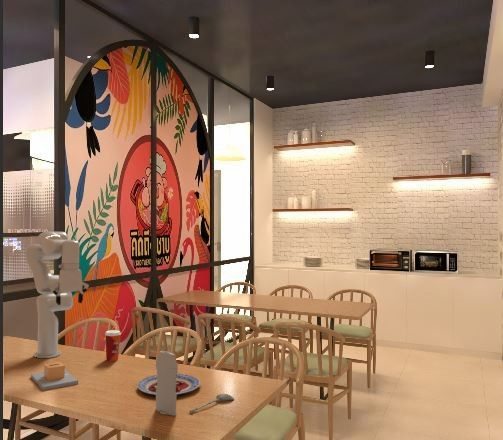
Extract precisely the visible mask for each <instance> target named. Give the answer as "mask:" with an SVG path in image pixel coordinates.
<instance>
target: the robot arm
mask: <svg viewBox="0 0 503 440" xmlns="http://www.w3.org/2000/svg"><path fill="white" fill-rule="evenodd" d="M60 258H61V263H60V264H58V268H59V273H58V274H52V273H51V269H50V267H49V266H48V265H47V264H46V263H45V262H44V261H45V260H57V259H60ZM25 260H26V262H27V265H28V267H29V269H30V271H31V272H32V276H33V280H34V285H35V289H36V290H37V293H39V294H40V295H39V296H37V298H36V308H37V310H36V311H37V347H36V352H34V354H33V356H34V357H35V358H36V357H37V359H49V358H51V359H52V358H55V357H58V356H61V354H62V352H61V350H59V349H58V347H59V346H58V344H59V319H58V317H57V316H56V314H55V313H54V312H59V311H60V312H61V311H68V310H71V309H72V307H73V305H74V298H73V297H74V296H73V294H72V292H78V297H77V302H78V303H80V304H82V303H83V301H84V294H85V293H87V291H88V288H89V286H90V285H89V284H88V283H86V282H84V281H83V277H82V276H83V275H82V270H81V269H80V242H79V241H77V240H74V239H69V237H68V235H67V233H65V231H43V232H41V233H39V235H38V236H37V243H34V244H33V243H32V244H31V245H28V246H27V247H26V248H25ZM42 260H43V261H42ZM83 287H84V288H83Z"/></svg>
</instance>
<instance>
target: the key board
mask: <svg viewBox="0 0 503 440" xmlns="http://www.w3.org/2000/svg"><path fill="white" fill-rule="evenodd" d="M31 377H32V378H31ZM30 378H31V380H33V382H35V384H36V383H37V384H38V385H39V386H38V385H37V384H36V385H37V386H38V387H39V389H41V390H42V392H44V391H48V390H53V389H59V388H64V387H68V386H75V385H79V380H78V378H76V377H75V376H74V375H72V373H70V372H69V371H68V370H67V369H65V376H64V378H60V379H55V380H49V381H48V380H47V379H46V378H45V377H44V371H40V372H34V373H30Z"/></svg>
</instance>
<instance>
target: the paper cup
mask: <svg viewBox="0 0 503 440" xmlns="http://www.w3.org/2000/svg"><path fill="white" fill-rule="evenodd" d="M121 334H122V333H121V331H120V330H116V329H110V330H107V331H105V333H104V335H105V357H106V358H105V359H106V361H107V362H116V361H118V360H119V356H120V355H119V352H120V342H121V341H120V340H121Z"/></svg>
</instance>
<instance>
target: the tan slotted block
mask: <svg viewBox="0 0 503 440" xmlns="http://www.w3.org/2000/svg"><path fill="white" fill-rule="evenodd" d="M43 366H44V368H43V372H44V377H45V378H46V379H47V380H48V381H49V380H55V379H60V378H64V376H65V370H66V368H65V367H66V365H65V364H64V363H62V361H57V362H51V363H45V364H44V365H43Z"/></svg>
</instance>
